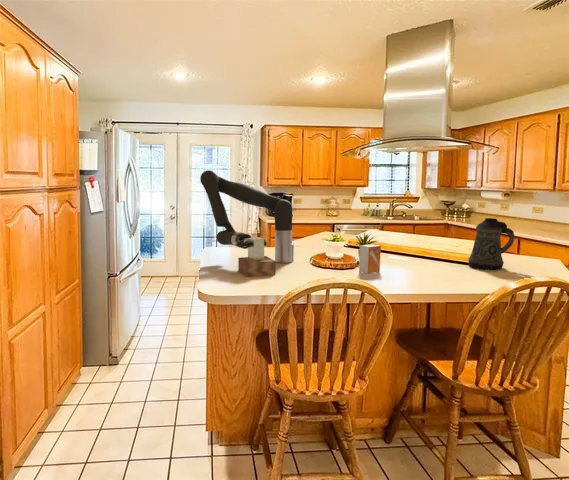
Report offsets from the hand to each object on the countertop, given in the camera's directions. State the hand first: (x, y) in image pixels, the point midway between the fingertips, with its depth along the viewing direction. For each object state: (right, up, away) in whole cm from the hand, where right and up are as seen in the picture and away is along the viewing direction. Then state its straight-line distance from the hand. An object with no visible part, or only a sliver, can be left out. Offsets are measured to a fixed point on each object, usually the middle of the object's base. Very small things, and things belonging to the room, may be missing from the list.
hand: (258, 244), depth 212 cm
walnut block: (-1, -14, +4) cm, 15 cm away
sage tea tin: (-1, -7, +2) cm, 8 cm away
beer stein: (+116, -12, +18) cm, 119 cm away
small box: (+54, -14, +6) cm, 56 cm away
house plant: (+55, -10, +31) cm, 64 cm away
